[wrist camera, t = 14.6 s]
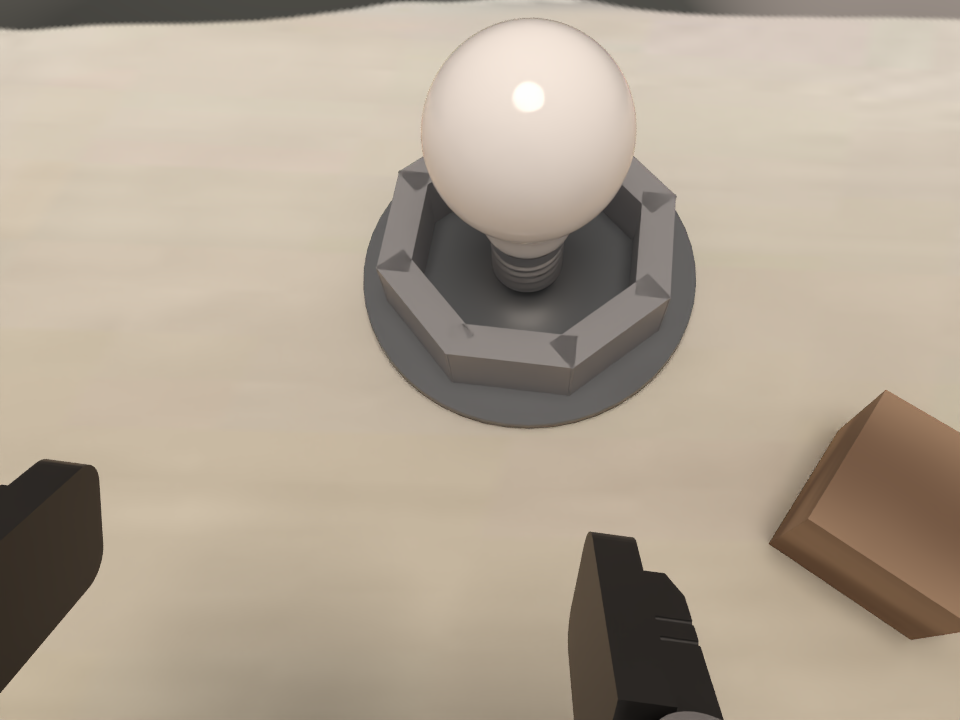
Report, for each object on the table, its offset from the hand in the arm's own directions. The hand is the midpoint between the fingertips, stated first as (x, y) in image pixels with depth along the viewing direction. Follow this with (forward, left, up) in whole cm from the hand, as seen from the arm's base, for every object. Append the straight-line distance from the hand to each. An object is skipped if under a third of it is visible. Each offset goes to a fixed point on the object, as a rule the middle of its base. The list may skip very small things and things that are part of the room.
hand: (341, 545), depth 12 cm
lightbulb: (+10, +8, -14) cm, 19 cm away
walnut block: (+14, -6, -14) cm, 21 cm away
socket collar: (+11, +9, -14) cm, 19 cm away
